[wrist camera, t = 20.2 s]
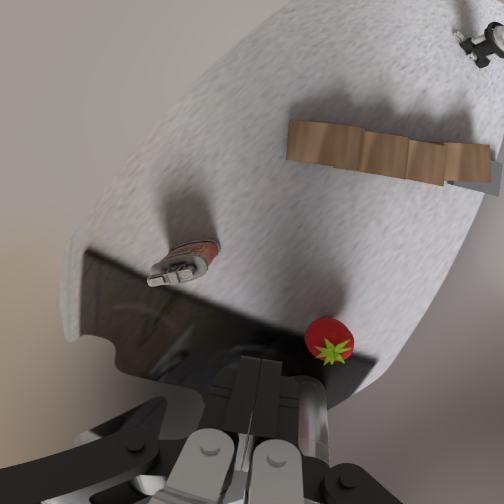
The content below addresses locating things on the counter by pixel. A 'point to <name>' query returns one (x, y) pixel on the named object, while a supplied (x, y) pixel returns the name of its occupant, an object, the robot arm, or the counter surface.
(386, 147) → the walnut tile
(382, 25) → the counter surface
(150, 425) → the counter surface
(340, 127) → the walnut tile
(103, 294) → the counter surface
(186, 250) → the lighter
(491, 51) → the push button
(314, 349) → the strawberry
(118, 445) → the robot arm
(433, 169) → the walnut tile
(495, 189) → the charcoal tile
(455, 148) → the walnut tile
